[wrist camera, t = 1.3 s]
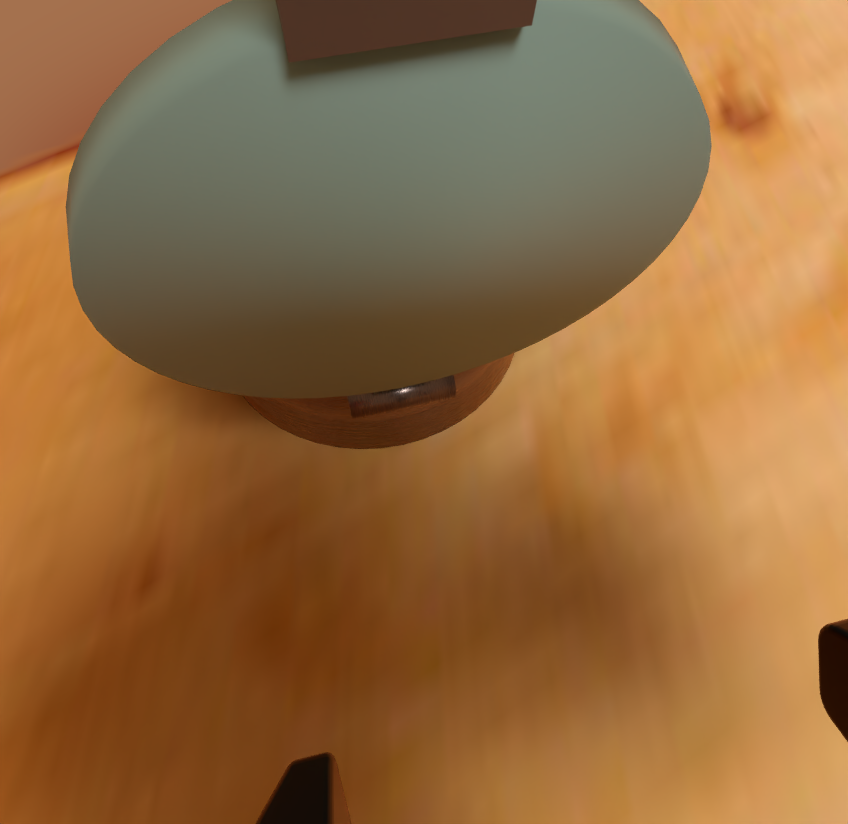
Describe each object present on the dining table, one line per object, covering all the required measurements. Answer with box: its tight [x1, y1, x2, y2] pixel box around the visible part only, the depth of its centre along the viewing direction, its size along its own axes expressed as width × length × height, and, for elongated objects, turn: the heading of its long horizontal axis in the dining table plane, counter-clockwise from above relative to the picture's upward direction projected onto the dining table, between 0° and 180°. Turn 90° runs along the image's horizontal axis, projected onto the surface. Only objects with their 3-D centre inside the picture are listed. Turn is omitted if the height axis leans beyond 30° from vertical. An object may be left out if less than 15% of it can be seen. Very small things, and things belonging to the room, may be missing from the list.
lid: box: [66, 0, 711, 399], centre depth 12 cm, size 15×12×1 cm
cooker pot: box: [243, 353, 514, 449], centre depth 25 cm, size 12×15×5 cm
